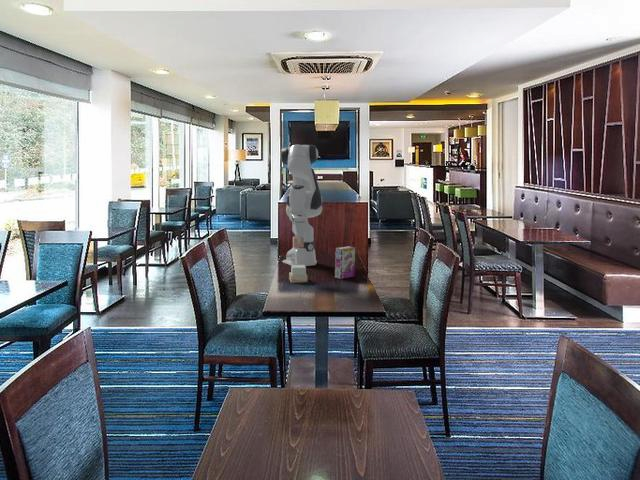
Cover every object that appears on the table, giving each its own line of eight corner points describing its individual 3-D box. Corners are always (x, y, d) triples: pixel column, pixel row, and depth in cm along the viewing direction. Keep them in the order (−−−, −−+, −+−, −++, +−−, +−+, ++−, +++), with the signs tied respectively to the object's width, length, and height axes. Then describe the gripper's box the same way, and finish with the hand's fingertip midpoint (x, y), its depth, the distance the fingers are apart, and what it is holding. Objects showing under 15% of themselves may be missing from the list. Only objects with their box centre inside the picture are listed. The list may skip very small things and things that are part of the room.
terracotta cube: (292, 246, 295) (292, 236, 294) (302, 246, 296) (302, 236, 295) (294, 247, 290) (293, 238, 289) (303, 247, 291) (303, 237, 290)
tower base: (289, 279, 299) (289, 272, 298) (304, 279, 300) (304, 271, 300) (291, 283, 291) (291, 275, 290) (307, 282, 292) (307, 275, 292)
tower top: (291, 272, 298) (291, 265, 297) (304, 272, 299) (304, 264, 298) (292, 275, 291) (292, 267, 290) (305, 275, 292) (305, 267, 291)
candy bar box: (341, 279, 298) (341, 249, 295) (334, 278, 301) (334, 248, 299) (355, 276, 305) (355, 246, 303) (348, 275, 309) (348, 245, 307)
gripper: (289, 214, 300) (289, 240, 302) (294, 218, 280) (294, 246, 282) (301, 214, 301) (301, 240, 303) (306, 218, 281) (307, 245, 283)
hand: (298, 243), depth 292 cm, fingers closed on terracotta cube, 5 cm apart
